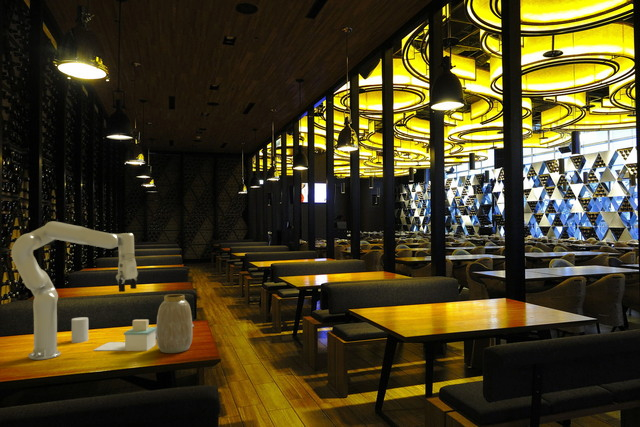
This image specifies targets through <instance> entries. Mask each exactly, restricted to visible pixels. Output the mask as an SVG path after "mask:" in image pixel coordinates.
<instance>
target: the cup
mask: <svg viewBox="0 0 640 427" xmlns="http://www.w3.org/2000/svg"><path fill="white" fill-rule="evenodd" d="M85 341H86V342H88V341H89V317H87V316H86V317H85V316H84V317H74V318H71V343H73V344H79V343H85Z"/></svg>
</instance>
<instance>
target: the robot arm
mask: <svg viewBox="0 0 640 427" xmlns="http://www.w3.org/2000/svg"><path fill="white" fill-rule="evenodd" d="M57 240H59V241H61V242H62V241H64V242H69V243H72V244H73V243H75V244H78V245H85V246H86V245H87V246H88V245H89V246H92V247H99V248H103V249H107V250H108V249H109V250H110V249H115V248H117V247H118V266H117V268H118V269H117V274H116V276H115V279H116V282H117V284H118V292H120V293H122V292H124V293H125V292H126V284H125V281H126V280H130V281H129V283H130V284H129V285H130V289H131V290H132V289H133V290H136V289H137V281H138V276H139V271H138V269H137V267H138V266H137V262H136V257H135V236H134V234H133V233H132V232H128V233H127V232H125V233H124V232H123V233H109V232H104V231H99V230H94V229H91V228H87V227H84V226H80V225H74V224H69V223H65V222H60V221H48V222H46V223H45V225H43V226H42V227H39V228H37V229H35V230H32V231H31V232H28V233H24V234H22V235H21V236H19V237H18V238H17V239H16V240H15V241H14V243H13V245H12V247H11V254H10V255H11V257H12V261H13V263H14V265H15V267H16V269H17V272H18V273H19V276H20V277H21V279H22V281H23V284H24V286H25V287H26V288H27V289H29V290H30V291H31V293H32V295H33V297H34V299H33V303H32V304H33V309H32V310H33V349H32V352H30V353H28V358H29V359H30V360H34V361H35V360H36V361H38V360H39V361H41V360H49V359H54V358H56V357H59V356H60V355H61V354H62V353H61V351H60V350H58V313H57V312H58V307H57V306H58V300H59V294H58V291H57V290H56V287H55V286H54V284H53V282H52V281H51V278H50V276H49V275H48V273H47V272H46V271H45V270H43V269H41V267H40V266H39V264H38V262H37V259H36V257H35V256H34V251H35V250H38V249H39V248H41V247H43V246H46V245H47V244H50V243H51V242H53V241H57Z"/></svg>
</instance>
